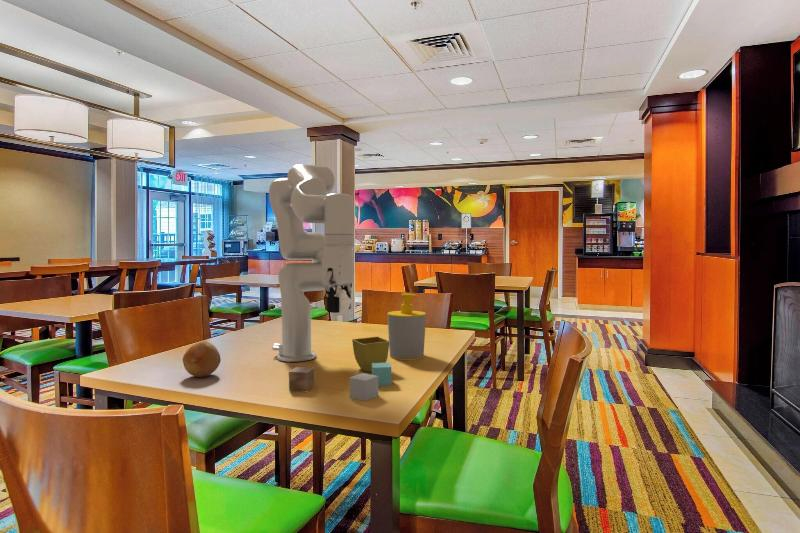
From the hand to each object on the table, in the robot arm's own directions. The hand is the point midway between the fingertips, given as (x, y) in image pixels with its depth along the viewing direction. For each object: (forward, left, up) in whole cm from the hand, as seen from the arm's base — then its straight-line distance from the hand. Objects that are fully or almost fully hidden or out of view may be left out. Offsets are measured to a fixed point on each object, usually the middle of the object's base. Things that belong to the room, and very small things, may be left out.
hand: (339, 309), depth 121 cm
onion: (-42, -3, -21) cm, 47 cm away
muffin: (0, 0, -1) cm, 1 cm away
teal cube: (+9, +7, -20) cm, 23 cm away
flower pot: (+1, +19, -21) cm, 28 cm away
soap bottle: (+6, +39, -21) cm, 44 cm away
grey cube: (+9, -5, -20) cm, 23 cm away
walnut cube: (-9, -4, -20) cm, 23 cm away
